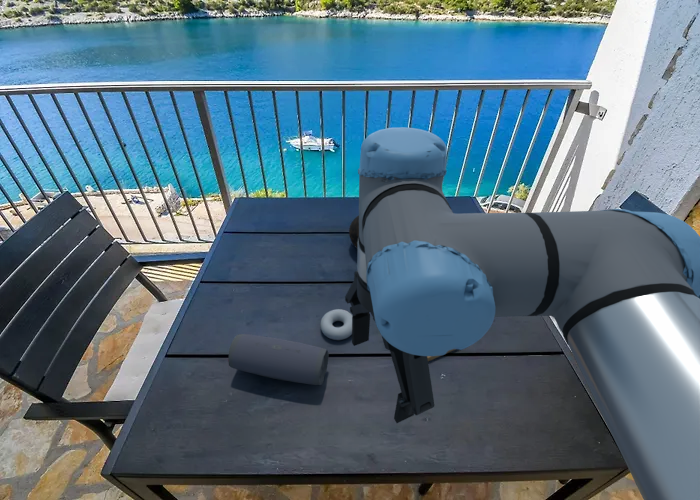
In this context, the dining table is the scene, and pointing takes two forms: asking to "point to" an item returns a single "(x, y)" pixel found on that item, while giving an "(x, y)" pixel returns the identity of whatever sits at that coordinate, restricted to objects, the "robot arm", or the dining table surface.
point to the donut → (333, 331)
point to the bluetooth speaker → (278, 358)
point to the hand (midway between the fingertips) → (380, 375)
